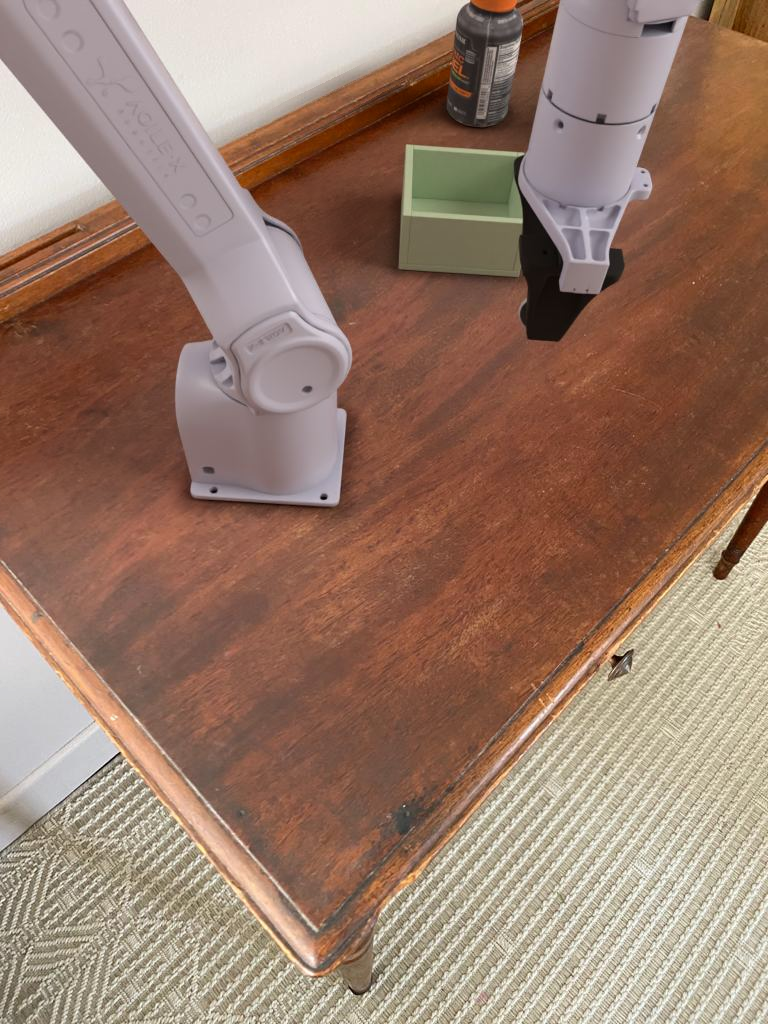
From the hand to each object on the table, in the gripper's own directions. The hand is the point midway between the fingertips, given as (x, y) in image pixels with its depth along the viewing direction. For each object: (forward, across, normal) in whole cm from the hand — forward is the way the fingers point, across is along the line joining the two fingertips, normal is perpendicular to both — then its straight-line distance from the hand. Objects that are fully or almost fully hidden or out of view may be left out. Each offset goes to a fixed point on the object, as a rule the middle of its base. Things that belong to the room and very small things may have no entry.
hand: (540, 305), depth 50 cm
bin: (+8, +17, +4) cm, 20 cm away
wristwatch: (+2, 0, 0) cm, 2 cm away
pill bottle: (+9, +36, +2) cm, 37 cm away
